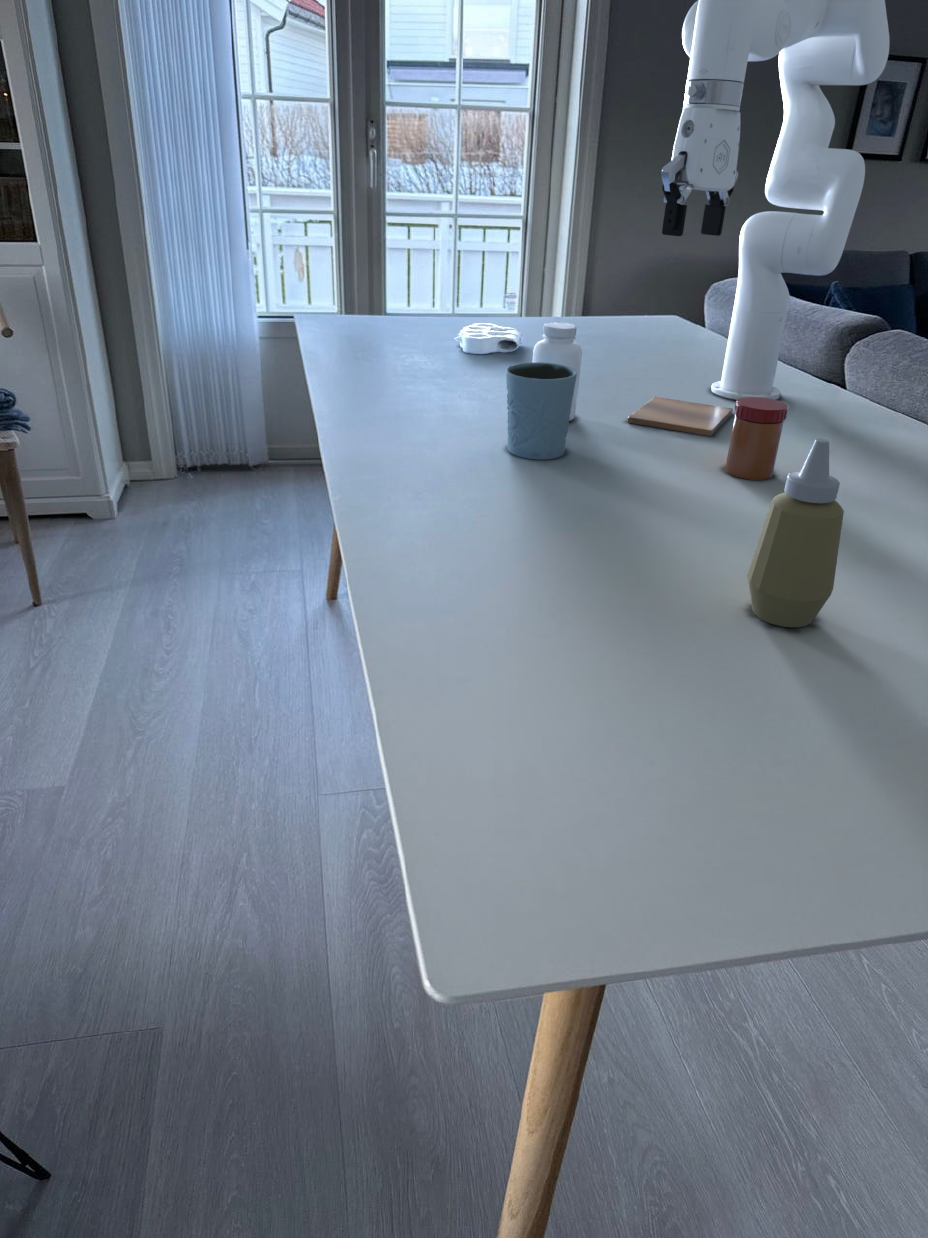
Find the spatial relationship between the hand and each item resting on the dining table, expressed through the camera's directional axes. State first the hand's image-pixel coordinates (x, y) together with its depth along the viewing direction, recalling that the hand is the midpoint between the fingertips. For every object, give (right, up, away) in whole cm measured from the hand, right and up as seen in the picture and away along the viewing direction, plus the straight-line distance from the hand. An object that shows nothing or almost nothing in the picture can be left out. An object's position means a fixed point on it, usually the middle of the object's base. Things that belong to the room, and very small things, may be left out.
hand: (691, 234), depth 130 cm
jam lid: (+9, -26, -5) cm, 27 cm away
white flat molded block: (-28, +6, +72) cm, 77 cm away
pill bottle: (-18, -21, +22) cm, 36 cm away
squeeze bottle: (-1, -55, -39) cm, 68 cm away
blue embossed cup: (-22, -30, +5) cm, 38 cm away
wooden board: (+4, -21, +24) cm, 32 cm away
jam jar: (+8, -34, 0) cm, 35 cm away
